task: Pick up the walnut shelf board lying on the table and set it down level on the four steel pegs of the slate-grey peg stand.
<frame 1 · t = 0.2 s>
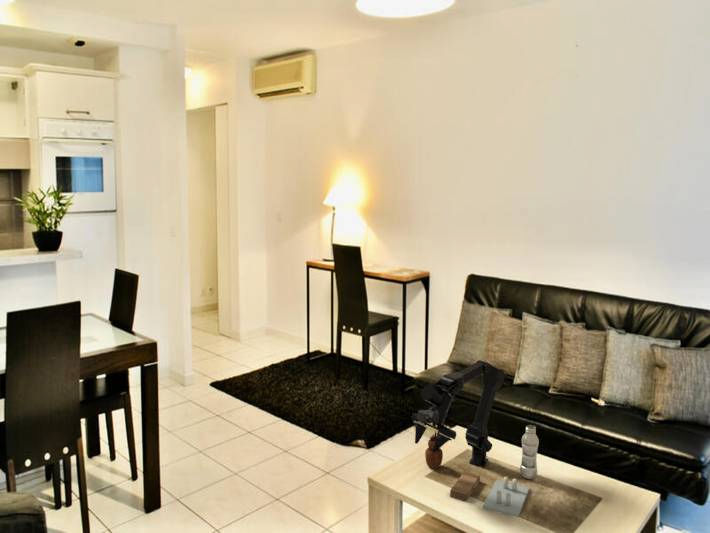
hand: (424, 447, 210), 15 cm above the table, tool tilted 30°, fingers open, 9 cm apart
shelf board: (465, 489, 209), on the table
wooden figurine: (433, 466, 226), on the table
peg stand: (506, 498, 203), on the table
plastic bottle: (528, 477, 219), on the table
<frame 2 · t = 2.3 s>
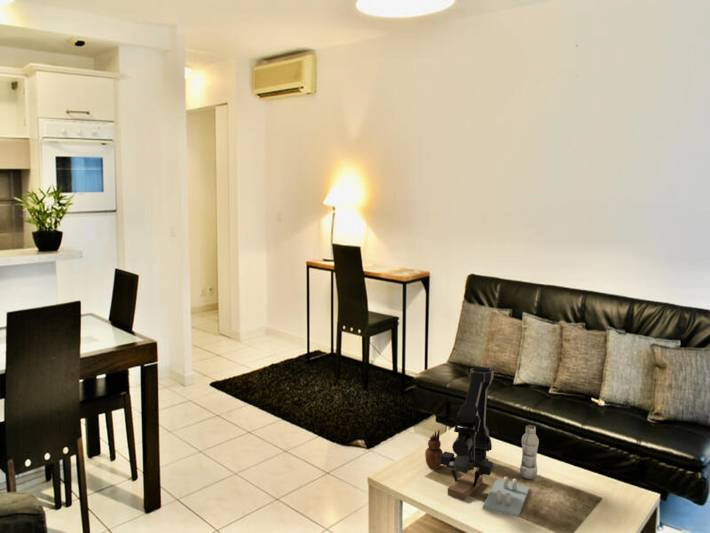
hand: (465, 484, 209), 2 cm above the table, tool pointing down, fingers closed on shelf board, 6 cm apart
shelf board: (465, 489, 209), on the table, touching gripper
everything else where it was.
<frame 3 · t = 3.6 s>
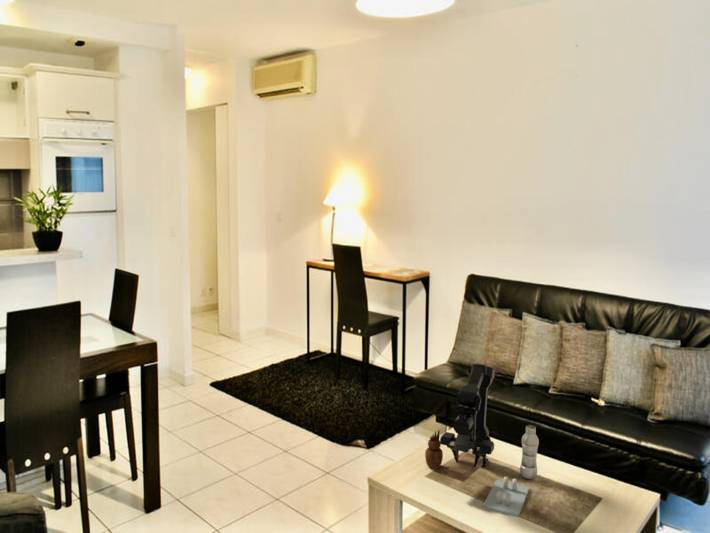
hand: (466, 465, 208), 9 cm above the table, tool pointing down, fingers closed on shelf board, 6 cm apart
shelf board: (465, 470, 208), point 7 cm above the table, touching gripper
everything else where it was.
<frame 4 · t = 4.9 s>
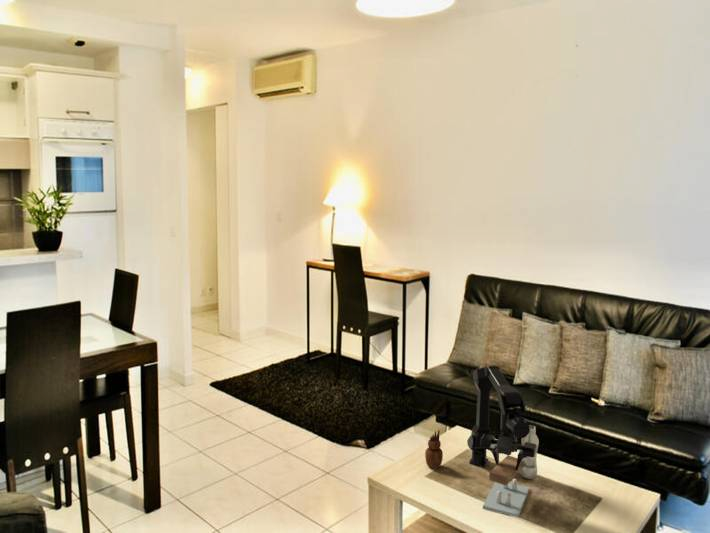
hand: (507, 468, 201), 12 cm above the table, tool pointing down, fingers closed on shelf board, 6 cm apart
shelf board: (506, 473, 201), point 9 cm above the table, touching gripper
everything else where it was.
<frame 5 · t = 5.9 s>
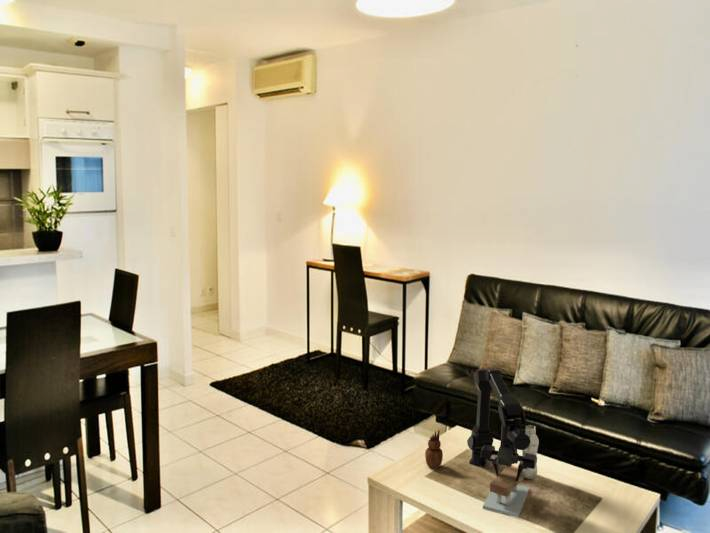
hand: (507, 479, 202), 7 cm above the table, tool pointing down, fingers closed on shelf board, 6 cm apart
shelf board: (507, 484, 202), point 5 cm above the table, touching gripper
everything else where it was.
when the fingers open (7 cm above the table, at t = 6.7 s): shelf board stays where it is, resting on peg stand.
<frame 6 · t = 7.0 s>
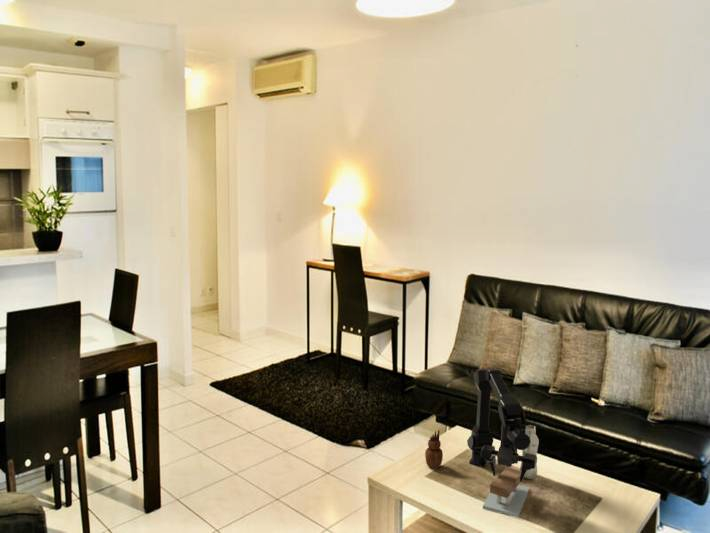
hand: (507, 479, 202), 7 cm above the table, tool pointing down, fingers open, 9 cm apart
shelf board: (506, 485, 202), point 5 cm above the table, touching peg stand
everything else where it was.
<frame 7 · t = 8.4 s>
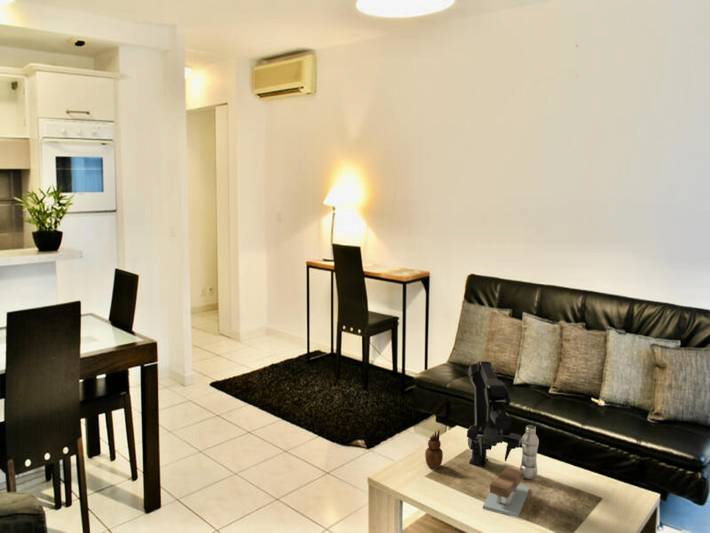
hand: (492, 458, 209), 12 cm above the table, tool pointing down, fingers open, 9 cm apart
nothing on the table moved.
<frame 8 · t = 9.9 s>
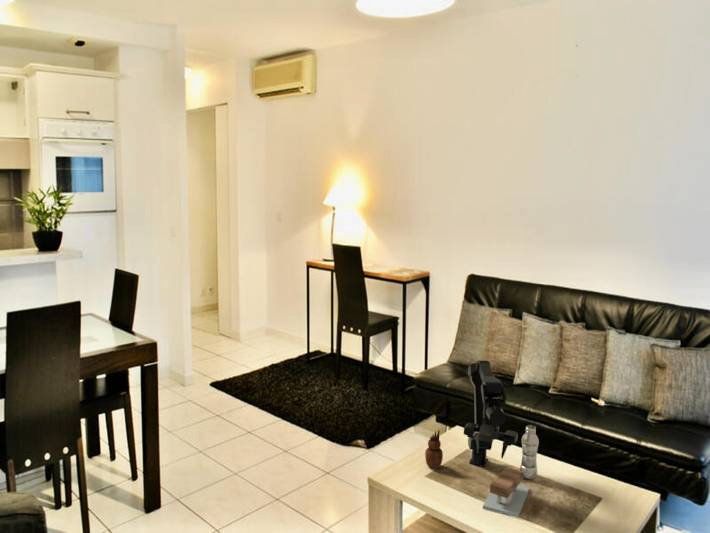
hand: (489, 455, 210), 12 cm above the table, tool pointing down, fingers open, 9 cm apart
nothing on the table moved.
at the end: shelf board 0.1 cm off-centre on the peg stand, point 5.0 cm above the peg stand's base; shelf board tilted 0°; the gripper is holding nothing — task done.
